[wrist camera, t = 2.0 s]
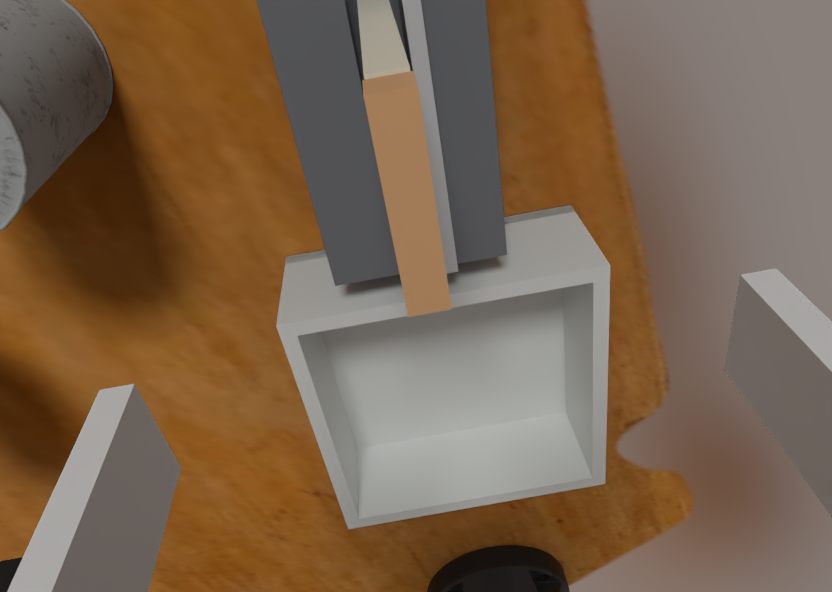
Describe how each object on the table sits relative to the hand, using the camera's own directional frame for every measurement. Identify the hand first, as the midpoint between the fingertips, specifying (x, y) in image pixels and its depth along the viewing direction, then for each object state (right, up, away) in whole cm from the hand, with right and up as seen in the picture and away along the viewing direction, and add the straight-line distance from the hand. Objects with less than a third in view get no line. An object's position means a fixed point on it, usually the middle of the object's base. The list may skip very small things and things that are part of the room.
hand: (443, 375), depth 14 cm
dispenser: (-3, +16, +23) cm, 28 cm away
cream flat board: (-2, +14, +20) cm, 24 cm away
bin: (+2, -2, +36) cm, 36 cm away
